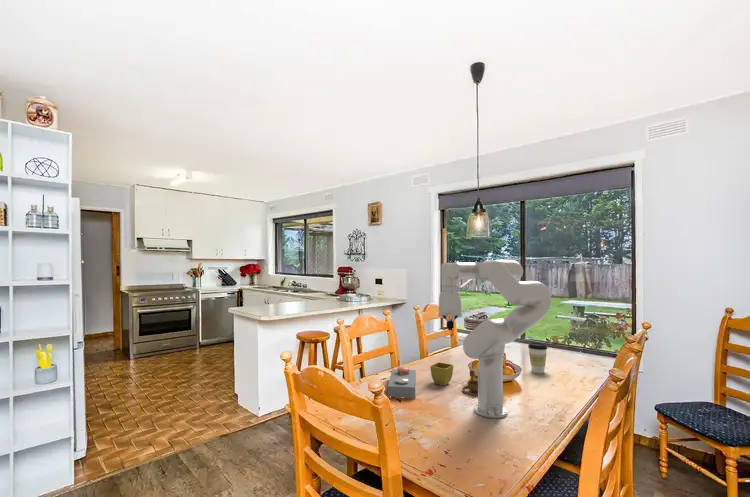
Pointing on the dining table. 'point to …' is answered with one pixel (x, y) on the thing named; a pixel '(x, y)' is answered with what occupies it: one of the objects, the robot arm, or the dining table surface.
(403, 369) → the terracotta plunger
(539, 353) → the coffee cup
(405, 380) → the metal plunger
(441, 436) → the dining table surface
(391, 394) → the block
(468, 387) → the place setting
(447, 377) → the flower pot
